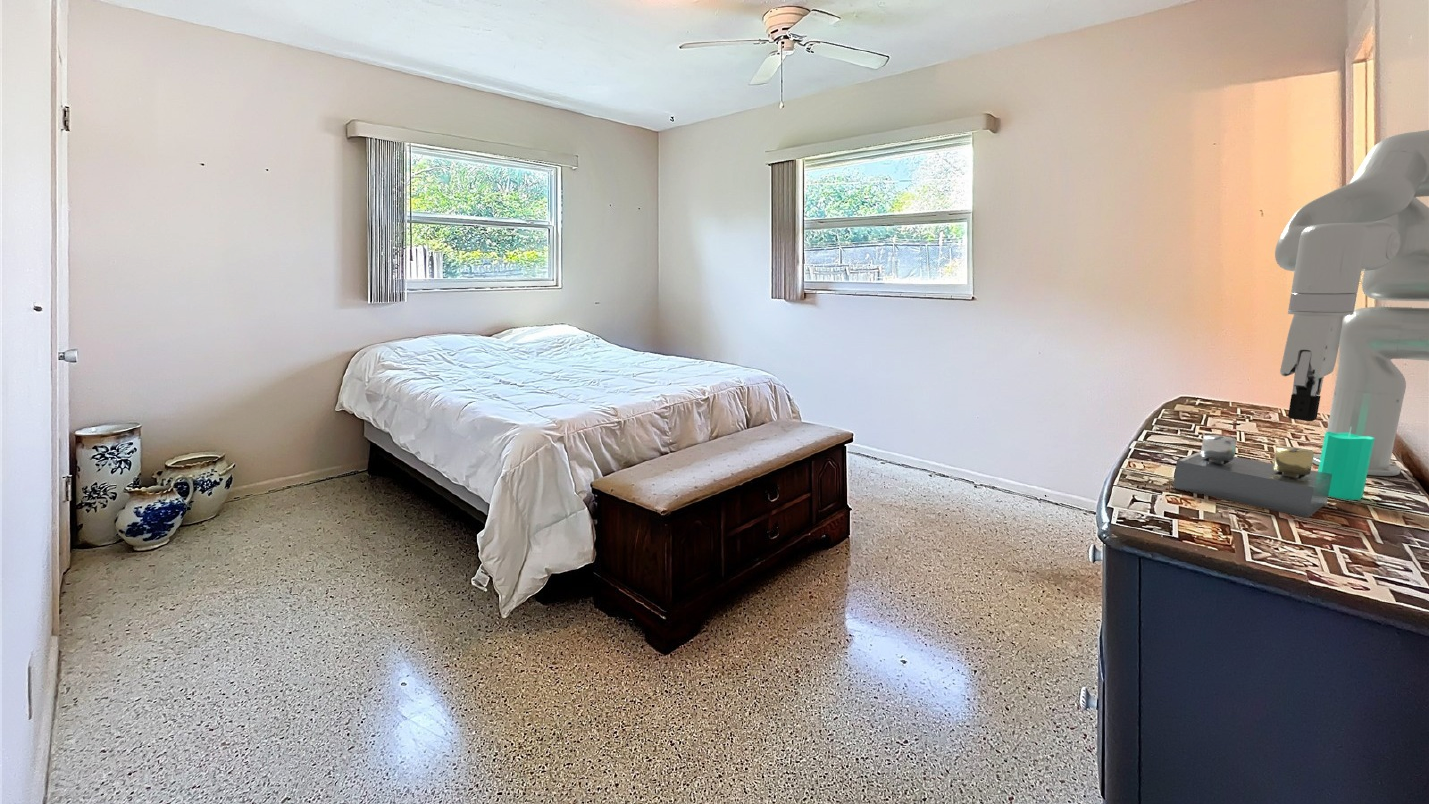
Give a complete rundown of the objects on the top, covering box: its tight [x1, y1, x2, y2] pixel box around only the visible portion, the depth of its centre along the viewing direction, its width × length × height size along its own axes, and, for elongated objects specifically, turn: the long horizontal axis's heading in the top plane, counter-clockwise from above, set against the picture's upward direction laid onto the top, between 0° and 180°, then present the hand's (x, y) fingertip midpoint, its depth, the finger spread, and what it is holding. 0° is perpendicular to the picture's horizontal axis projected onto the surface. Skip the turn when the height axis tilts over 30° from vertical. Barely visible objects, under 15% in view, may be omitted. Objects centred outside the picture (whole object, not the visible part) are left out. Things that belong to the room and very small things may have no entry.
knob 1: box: [1200, 434, 1237, 464], centre depth 112 cm, size 5×5×8 cm
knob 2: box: [1273, 445, 1315, 478], centre depth 104 cm, size 5×5×8 cm
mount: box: [1172, 450, 1332, 519], centre depth 109 cm, size 12×18×5 cm, turn 36°
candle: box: [1318, 427, 1374, 501], centre depth 109 cm, size 6×6×12 cm
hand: (1301, 419), depth 103 cm, fingers closed
